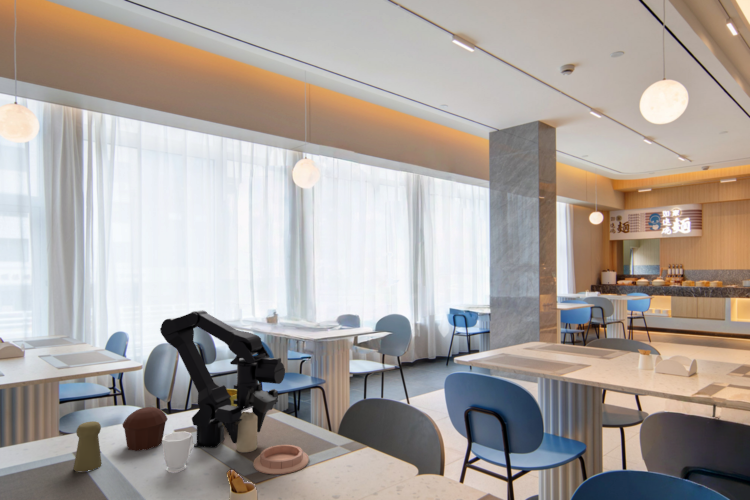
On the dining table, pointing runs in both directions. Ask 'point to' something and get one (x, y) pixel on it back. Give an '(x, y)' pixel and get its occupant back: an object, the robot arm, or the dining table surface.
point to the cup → (177, 450)
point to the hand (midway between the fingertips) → (246, 437)
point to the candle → (247, 432)
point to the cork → (88, 447)
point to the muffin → (144, 428)
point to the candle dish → (281, 460)
